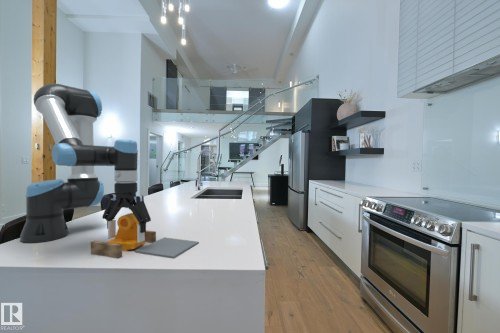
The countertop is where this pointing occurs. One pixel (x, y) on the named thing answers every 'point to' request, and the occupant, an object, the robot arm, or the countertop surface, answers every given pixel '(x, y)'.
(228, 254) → the countertop surface
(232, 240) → the countertop surface
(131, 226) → the bracket
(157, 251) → the mat
